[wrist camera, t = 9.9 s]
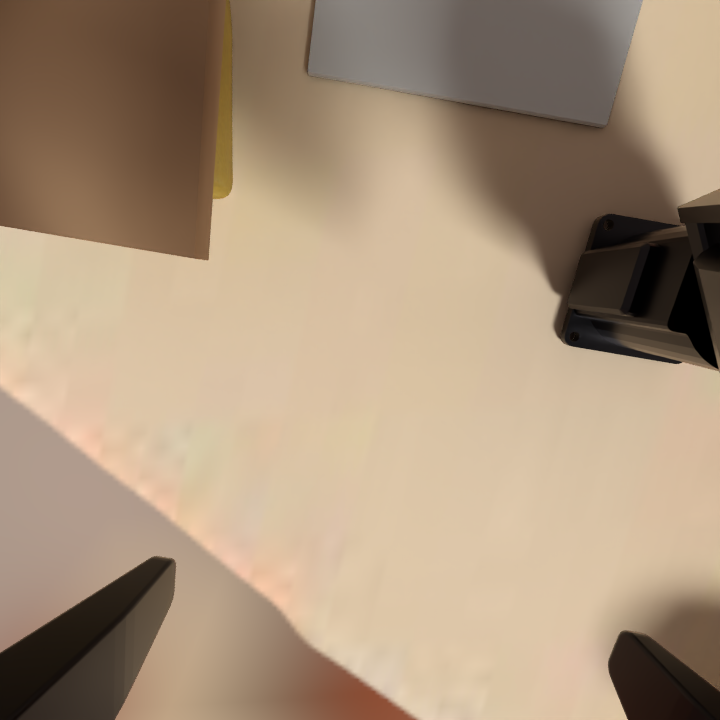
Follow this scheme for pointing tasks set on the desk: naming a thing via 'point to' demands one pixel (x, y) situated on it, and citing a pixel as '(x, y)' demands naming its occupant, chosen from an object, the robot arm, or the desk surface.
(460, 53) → the tray
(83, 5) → the lid
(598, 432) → the desk surface
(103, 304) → the desk surface
